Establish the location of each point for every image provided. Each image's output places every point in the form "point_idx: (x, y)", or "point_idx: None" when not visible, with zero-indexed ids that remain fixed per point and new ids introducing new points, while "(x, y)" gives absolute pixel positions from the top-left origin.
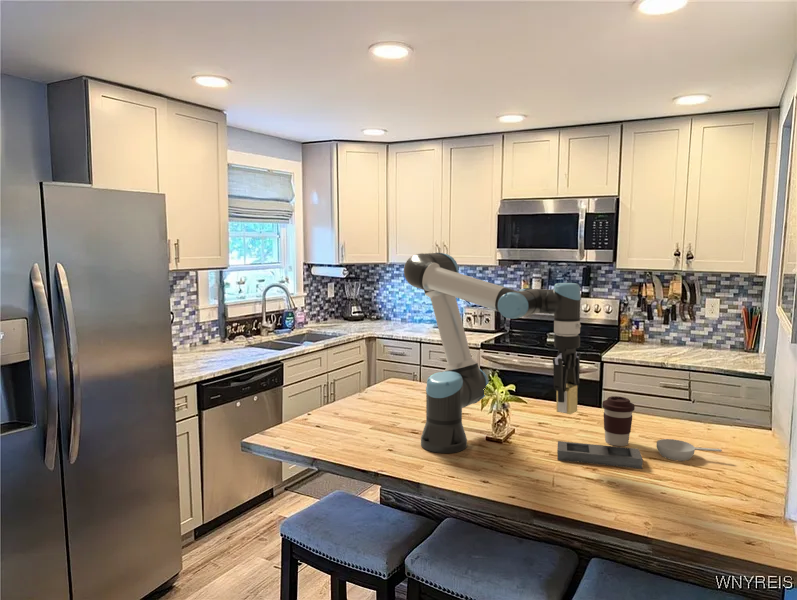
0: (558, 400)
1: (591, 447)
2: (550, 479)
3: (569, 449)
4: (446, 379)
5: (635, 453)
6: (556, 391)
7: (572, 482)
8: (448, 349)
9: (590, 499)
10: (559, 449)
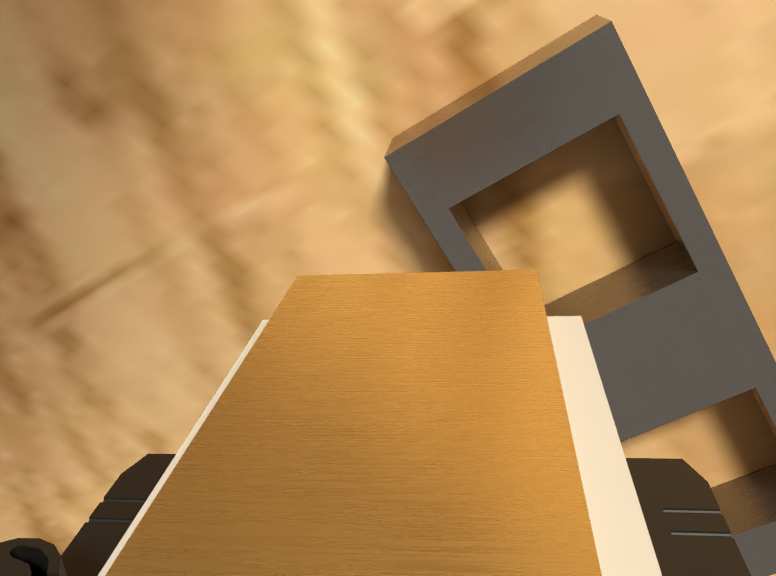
0: (125, 480)
1: (656, 313)
2: (90, 270)
3: (619, 124)
4: None
5: (745, 556)
6: (166, 482)
7: (167, 373)
8: None
9: (85, 505)
10: (420, 152)
